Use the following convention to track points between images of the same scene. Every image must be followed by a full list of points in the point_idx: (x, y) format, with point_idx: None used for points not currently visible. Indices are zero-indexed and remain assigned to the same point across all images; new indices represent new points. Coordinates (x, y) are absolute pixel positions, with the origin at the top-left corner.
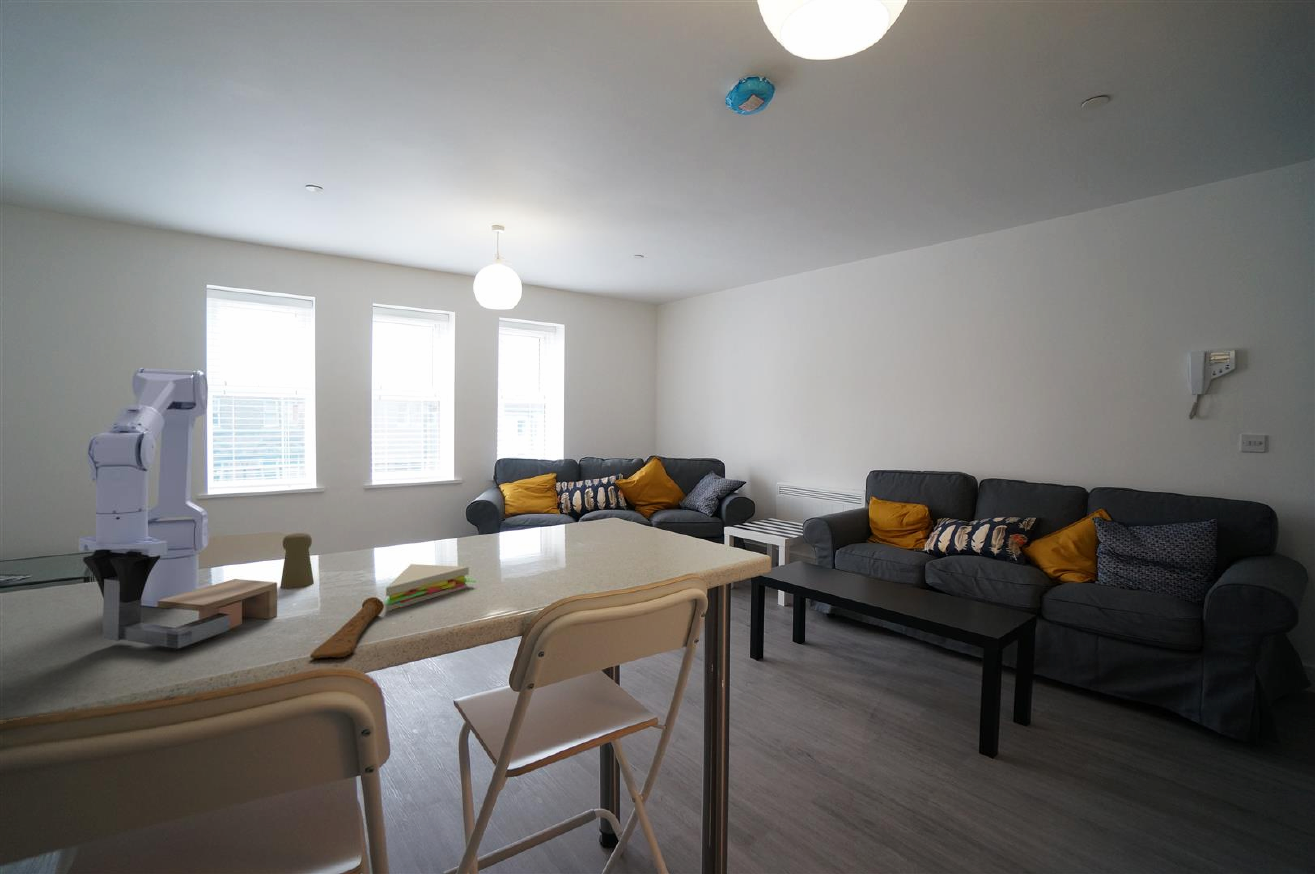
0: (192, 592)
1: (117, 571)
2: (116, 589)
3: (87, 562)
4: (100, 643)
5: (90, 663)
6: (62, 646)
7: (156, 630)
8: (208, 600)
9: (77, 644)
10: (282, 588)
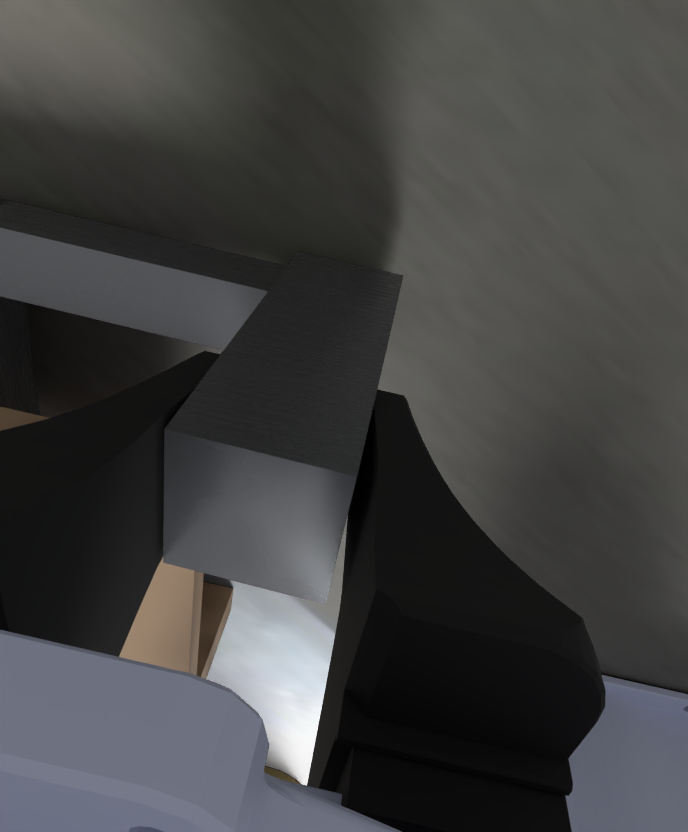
0: (162, 589)
1: (81, 456)
2: (228, 393)
3: (509, 598)
4: (466, 312)
5: (265, 45)
6: (627, 272)
7: (53, 252)
8: None
9: (570, 299)
10: (275, 773)
